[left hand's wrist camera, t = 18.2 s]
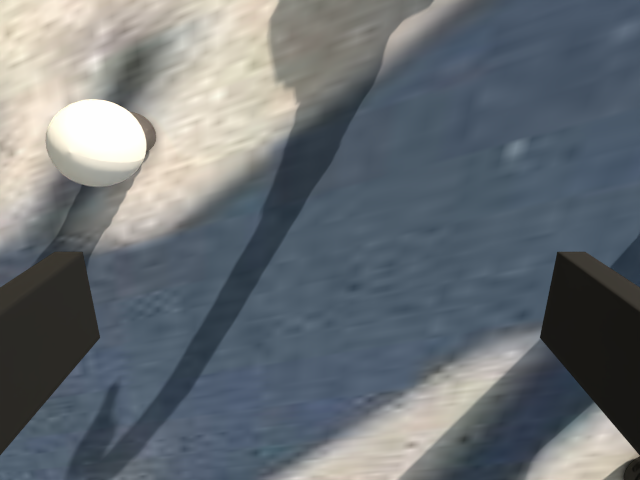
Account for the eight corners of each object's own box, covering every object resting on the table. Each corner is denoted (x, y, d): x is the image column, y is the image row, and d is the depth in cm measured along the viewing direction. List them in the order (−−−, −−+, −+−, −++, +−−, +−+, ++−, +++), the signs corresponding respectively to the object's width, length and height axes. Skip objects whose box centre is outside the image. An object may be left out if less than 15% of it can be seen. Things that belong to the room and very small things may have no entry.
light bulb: (177, 113, 40) (128, 125, 30) (158, 179, 43) (106, 212, 32) (105, 84, 40) (29, 86, 29) (89, 153, 42) (13, 177, 31)
